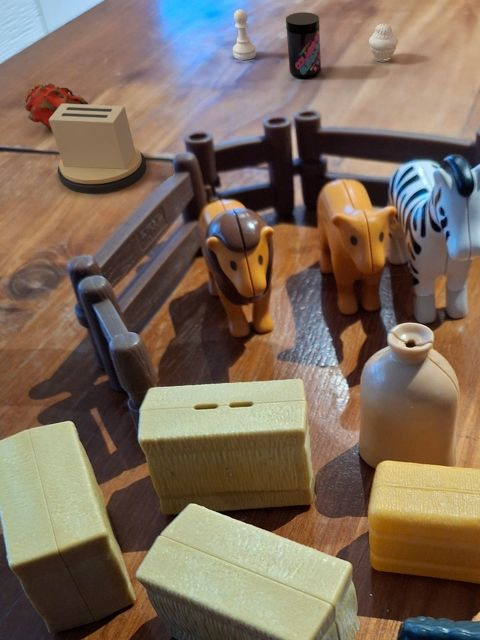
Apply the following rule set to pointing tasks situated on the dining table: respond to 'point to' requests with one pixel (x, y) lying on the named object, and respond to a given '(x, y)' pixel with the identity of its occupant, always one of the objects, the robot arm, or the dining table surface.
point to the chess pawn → (242, 38)
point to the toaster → (94, 143)
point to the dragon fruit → (48, 102)
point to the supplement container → (303, 44)
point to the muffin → (383, 42)
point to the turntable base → (105, 186)
